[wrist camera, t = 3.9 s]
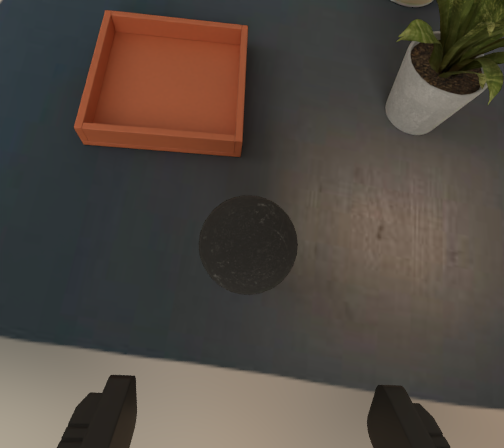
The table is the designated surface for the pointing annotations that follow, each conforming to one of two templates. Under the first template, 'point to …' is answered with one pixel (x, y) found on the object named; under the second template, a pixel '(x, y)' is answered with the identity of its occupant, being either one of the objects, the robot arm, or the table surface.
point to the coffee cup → (412, 2)
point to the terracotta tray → (165, 85)
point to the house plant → (447, 64)
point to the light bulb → (248, 245)
